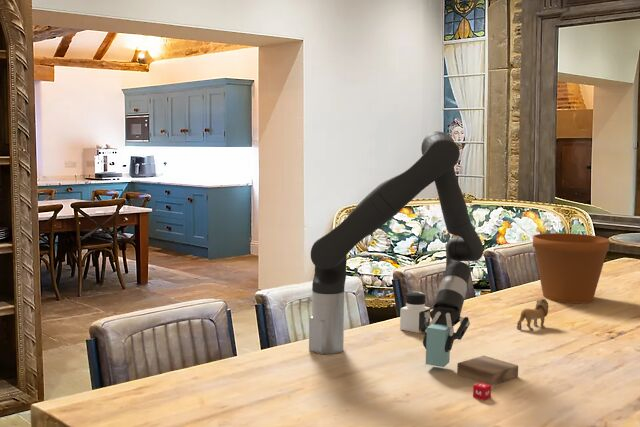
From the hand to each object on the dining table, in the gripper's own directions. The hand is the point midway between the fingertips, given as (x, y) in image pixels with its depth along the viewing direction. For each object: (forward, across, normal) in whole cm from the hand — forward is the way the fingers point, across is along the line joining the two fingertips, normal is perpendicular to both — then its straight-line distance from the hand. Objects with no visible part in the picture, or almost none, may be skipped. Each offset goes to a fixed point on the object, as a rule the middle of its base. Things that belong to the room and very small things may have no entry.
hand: (435, 348), depth 193 cm
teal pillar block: (+2, 0, -4) cm, 5 cm away
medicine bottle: (-22, +19, -30) cm, 42 cm away
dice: (+14, -16, +5) cm, 22 cm away
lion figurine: (-37, -14, -46) cm, 61 cm away
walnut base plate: (+2, -13, -6) cm, 15 cm away
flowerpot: (-75, -18, -83) cm, 113 cm away
